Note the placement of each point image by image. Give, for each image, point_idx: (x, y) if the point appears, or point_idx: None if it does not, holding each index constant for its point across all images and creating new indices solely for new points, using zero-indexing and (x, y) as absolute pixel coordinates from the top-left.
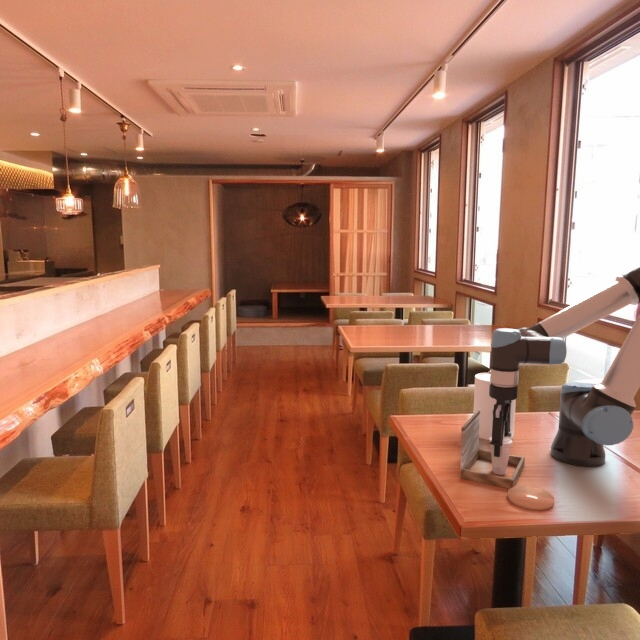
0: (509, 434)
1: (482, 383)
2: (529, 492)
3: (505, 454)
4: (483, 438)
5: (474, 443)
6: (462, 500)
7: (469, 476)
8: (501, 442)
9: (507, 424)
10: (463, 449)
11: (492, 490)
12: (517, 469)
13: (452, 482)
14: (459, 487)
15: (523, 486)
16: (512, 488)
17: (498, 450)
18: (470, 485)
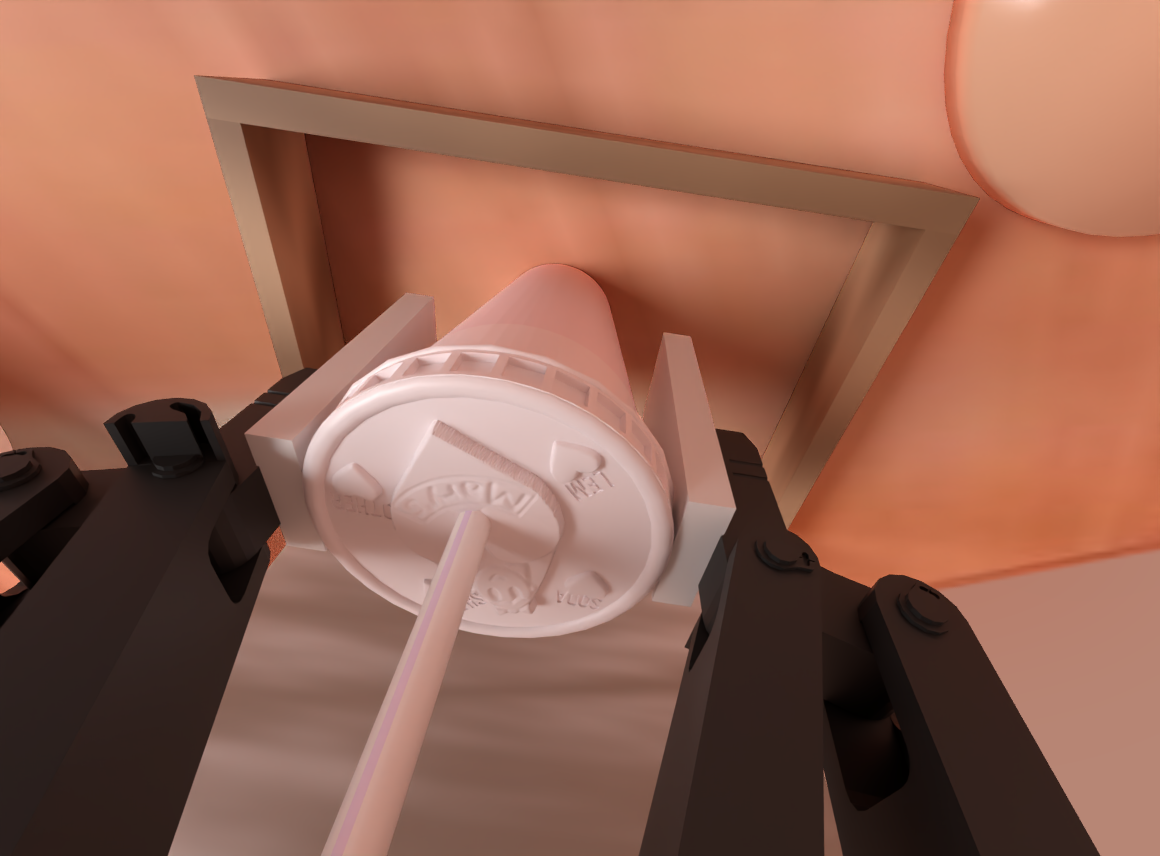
0: (170, 445)
1: None
2: None
3: (615, 368)
4: (7, 443)
5: None
6: (1099, 509)
7: None
8: (818, 595)
9: (65, 756)
10: None
11: (943, 352)
12: (632, 161)
13: (820, 557)
14: (892, 528)
15: (993, 57)
16: (1040, 192)
17: (770, 507)
18: (856, 480)
